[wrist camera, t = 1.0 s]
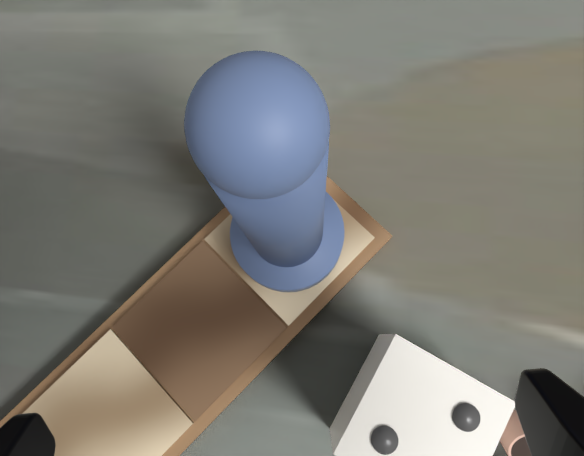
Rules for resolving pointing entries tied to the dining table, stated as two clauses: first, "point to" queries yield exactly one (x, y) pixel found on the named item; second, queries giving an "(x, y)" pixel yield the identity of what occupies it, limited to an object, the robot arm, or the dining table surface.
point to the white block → (417, 407)
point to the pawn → (268, 166)
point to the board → (185, 345)
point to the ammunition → (514, 438)
